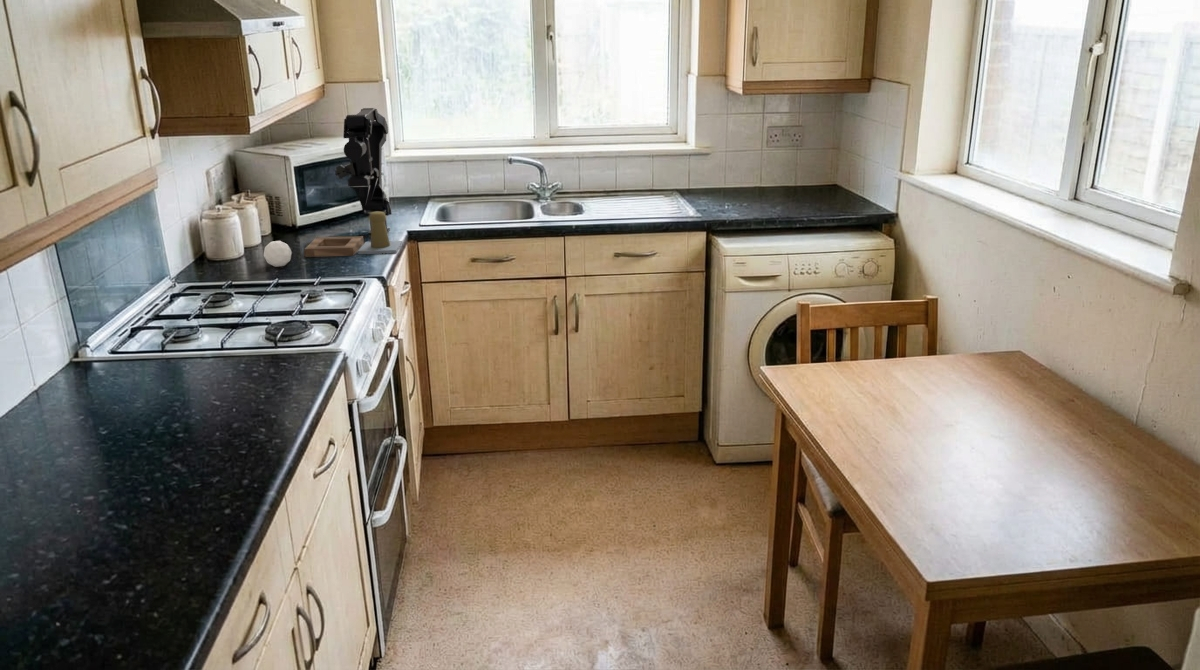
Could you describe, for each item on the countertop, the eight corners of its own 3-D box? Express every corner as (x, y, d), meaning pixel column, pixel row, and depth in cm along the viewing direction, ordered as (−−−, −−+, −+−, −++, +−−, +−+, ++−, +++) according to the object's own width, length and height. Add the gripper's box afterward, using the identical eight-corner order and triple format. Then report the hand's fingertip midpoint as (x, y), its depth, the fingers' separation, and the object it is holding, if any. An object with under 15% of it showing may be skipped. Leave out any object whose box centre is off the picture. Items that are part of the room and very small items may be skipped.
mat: (366, 244, 279) (365, 241, 278) (402, 243, 279) (402, 240, 279) (357, 254, 268) (357, 251, 267) (396, 253, 268) (396, 250, 268)
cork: (379, 249, 269) (375, 214, 265) (366, 246, 273) (363, 212, 269) (394, 245, 274) (390, 211, 270) (382, 242, 277) (378, 209, 273)
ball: (288, 273, 258) (301, 253, 256) (265, 270, 251) (278, 249, 249) (276, 257, 261) (289, 237, 259) (254, 254, 255) (266, 233, 252)
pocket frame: (317, 244, 280) (316, 237, 279) (363, 243, 280) (363, 236, 279) (305, 256, 266) (303, 249, 265) (353, 255, 266) (352, 247, 265)
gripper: (342, 151, 280) (348, 198, 285) (328, 160, 263) (334, 210, 268) (376, 150, 280) (381, 197, 286) (364, 159, 263) (370, 209, 268)
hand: (366, 203), depth 277 cm, fingers open, 9 cm apart
